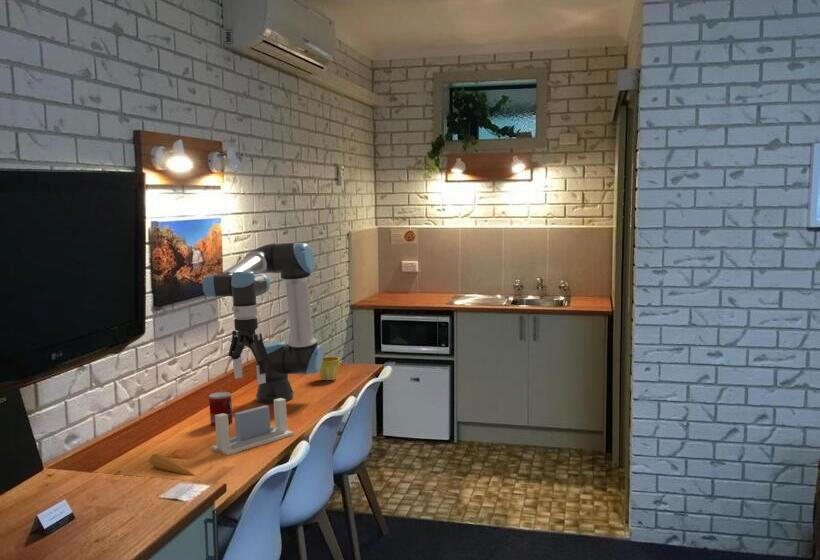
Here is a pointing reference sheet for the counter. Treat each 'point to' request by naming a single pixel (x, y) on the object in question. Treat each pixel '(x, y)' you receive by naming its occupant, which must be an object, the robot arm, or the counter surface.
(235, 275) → the robot arm
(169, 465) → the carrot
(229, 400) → the canned food
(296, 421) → the counter surface
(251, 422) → the door panel
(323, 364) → the plant pot
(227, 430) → the panel stand
